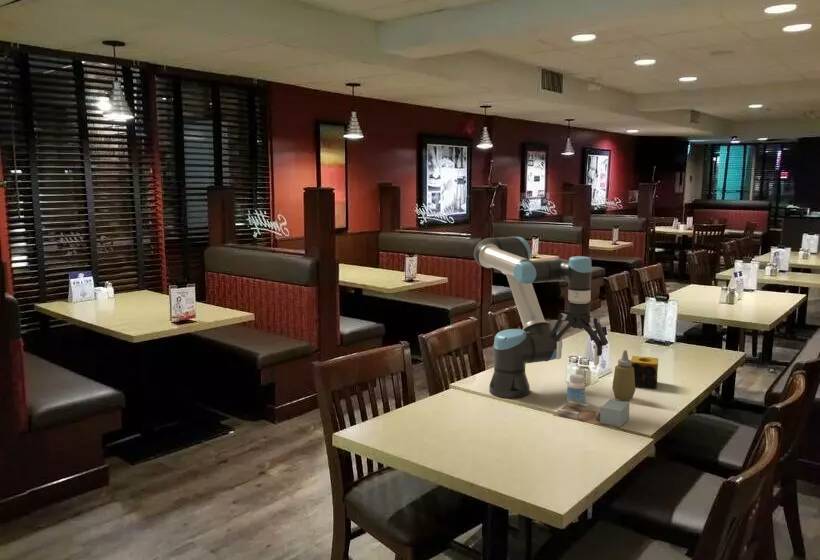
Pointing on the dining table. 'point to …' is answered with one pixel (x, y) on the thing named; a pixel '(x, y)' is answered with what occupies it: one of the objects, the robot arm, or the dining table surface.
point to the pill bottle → (576, 389)
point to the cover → (614, 413)
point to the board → (580, 414)
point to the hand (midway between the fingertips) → (577, 361)
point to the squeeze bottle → (624, 379)
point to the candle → (645, 371)
